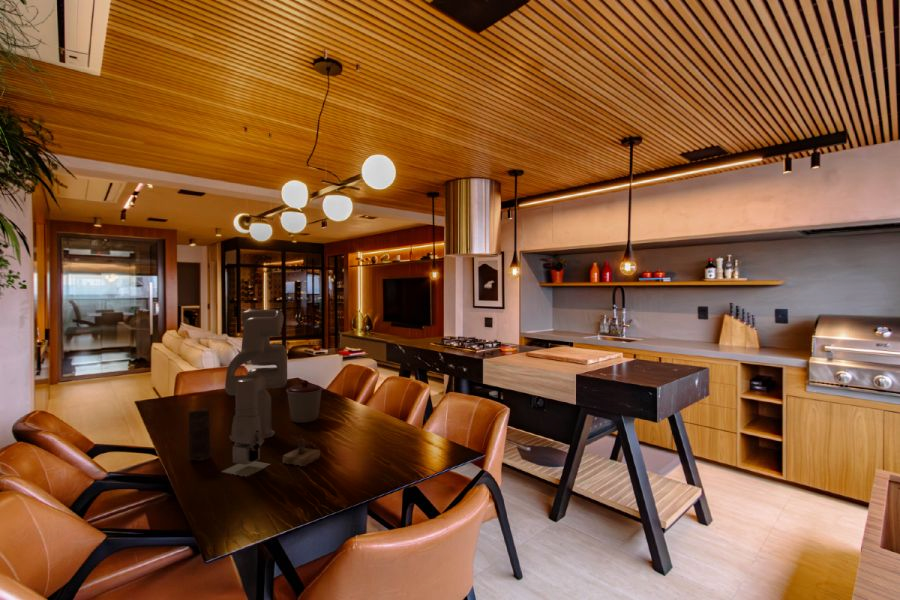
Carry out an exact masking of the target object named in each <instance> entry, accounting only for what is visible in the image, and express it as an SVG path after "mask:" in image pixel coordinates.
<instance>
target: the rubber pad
mask: <svg viewBox="0 0 900 600" xmlns="http://www.w3.org/2000/svg"><path fill="white" fill-rule="evenodd" d="M269 465H270V466H271V465H272V463H267V462H263V461H262V462H261V461H257V460H256V461H254V462H252V463H250V464H248V465H243V464H238V463H236V464H234V465H232V466H230V467H227V468H226V469H223V470H221V471H220V472H221V473H222V474H226V475H227V474H228V475H232V474H233V476H237V475H239V476H238V477H243V476H245V477H244V478H248V477H250V476H252V475H254V474H256V473H258V472H260V471H262V470H263V469H266V468H268V467H270V466H269ZM267 466H268V467H267ZM251 474H252V475H251ZM249 475H250V476H249ZM247 476H248V477H247Z"/></svg>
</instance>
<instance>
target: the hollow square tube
mask: <svg viewBox="0 0 900 600" xmlns="http://www.w3.org/2000/svg"><path fill="white" fill-rule="evenodd" d="M253 444H254V446H255V443H253ZM250 451H252V449H251V446H250V444H241V443H240V444H238V445H235V446H234V445H233V446H232V463H233V464H243V465H248V464H250V463H252V462H251V461H250ZM260 459H261V447H260V448H259V449H258V459H257V460H255V461H256V462H257V461H258V460H260ZM253 462H254V461H253Z"/></svg>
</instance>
